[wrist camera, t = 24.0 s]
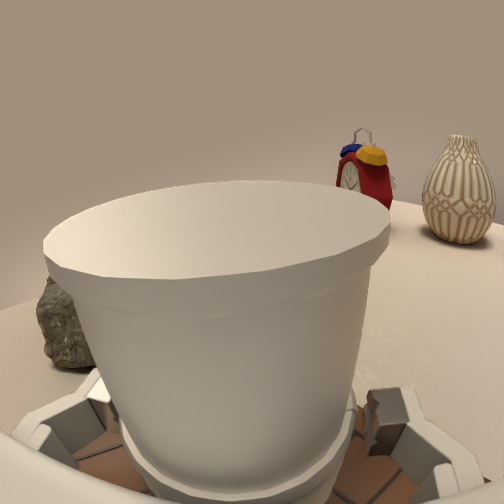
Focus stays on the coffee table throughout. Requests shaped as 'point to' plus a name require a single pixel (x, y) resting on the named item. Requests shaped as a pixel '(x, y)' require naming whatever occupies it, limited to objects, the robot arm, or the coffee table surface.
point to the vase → (459, 193)
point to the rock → (62, 328)
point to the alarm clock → (366, 171)
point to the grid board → (340, 500)
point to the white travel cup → (227, 330)
